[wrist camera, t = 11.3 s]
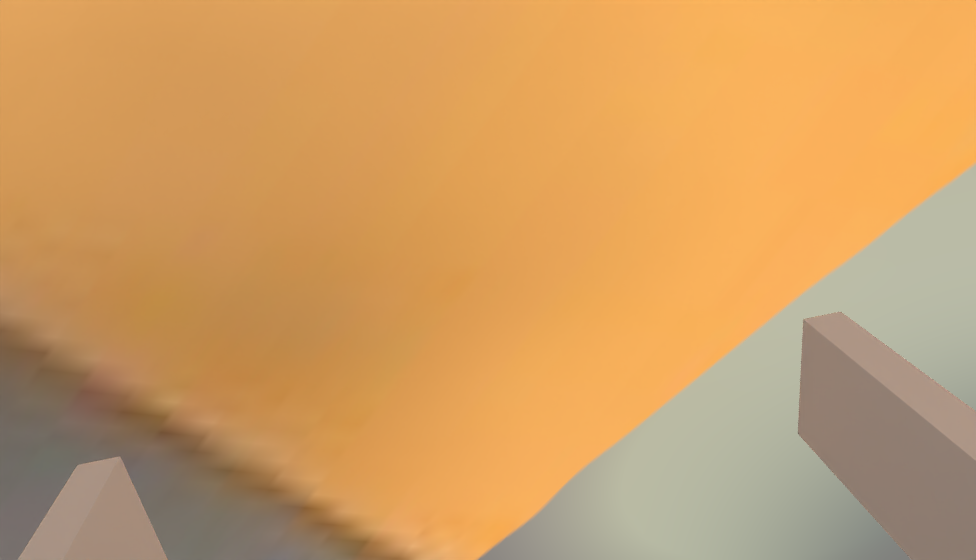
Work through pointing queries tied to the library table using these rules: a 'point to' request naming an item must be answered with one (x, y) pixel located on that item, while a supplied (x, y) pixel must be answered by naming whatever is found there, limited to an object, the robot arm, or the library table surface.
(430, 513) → the library table surface
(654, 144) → the library table surface
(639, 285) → the library table surface
